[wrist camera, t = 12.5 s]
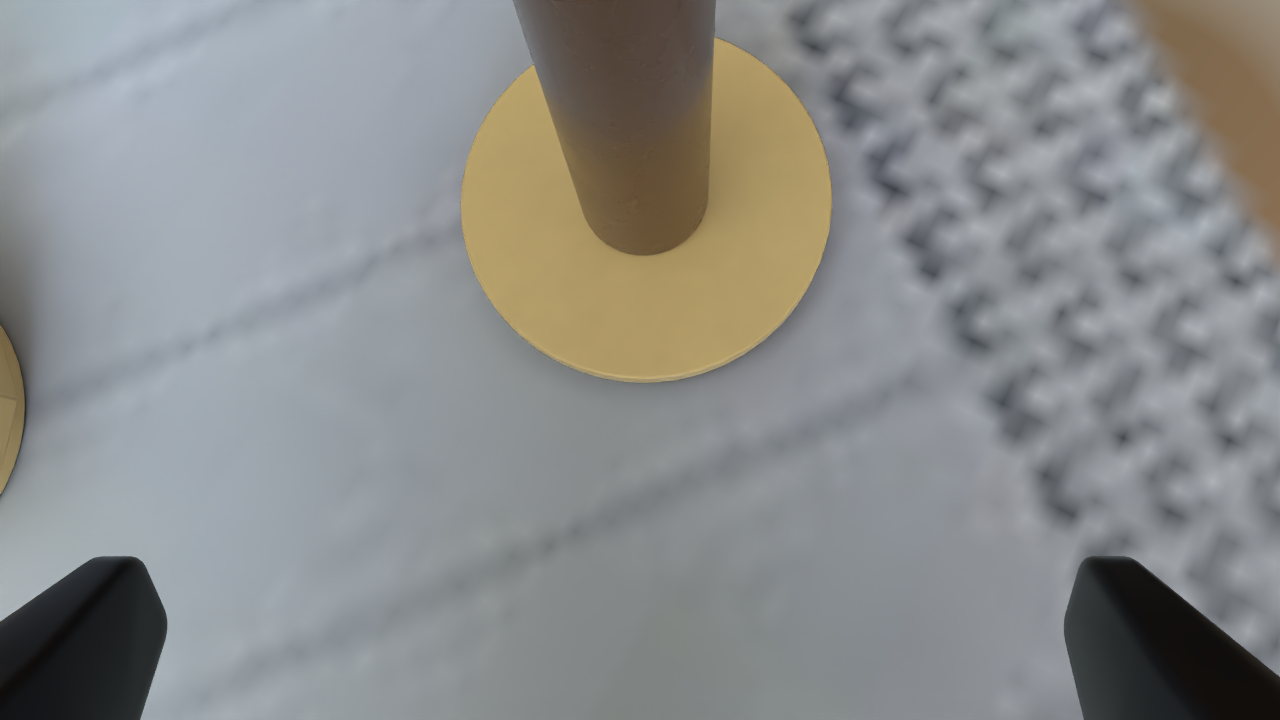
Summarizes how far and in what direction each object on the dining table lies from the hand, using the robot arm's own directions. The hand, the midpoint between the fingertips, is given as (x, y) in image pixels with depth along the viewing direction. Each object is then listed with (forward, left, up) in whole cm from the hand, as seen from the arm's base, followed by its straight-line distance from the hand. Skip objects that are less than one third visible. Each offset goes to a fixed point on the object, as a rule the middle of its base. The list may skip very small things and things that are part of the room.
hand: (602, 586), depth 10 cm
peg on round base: (+3, -7, -10) cm, 12 cm away
